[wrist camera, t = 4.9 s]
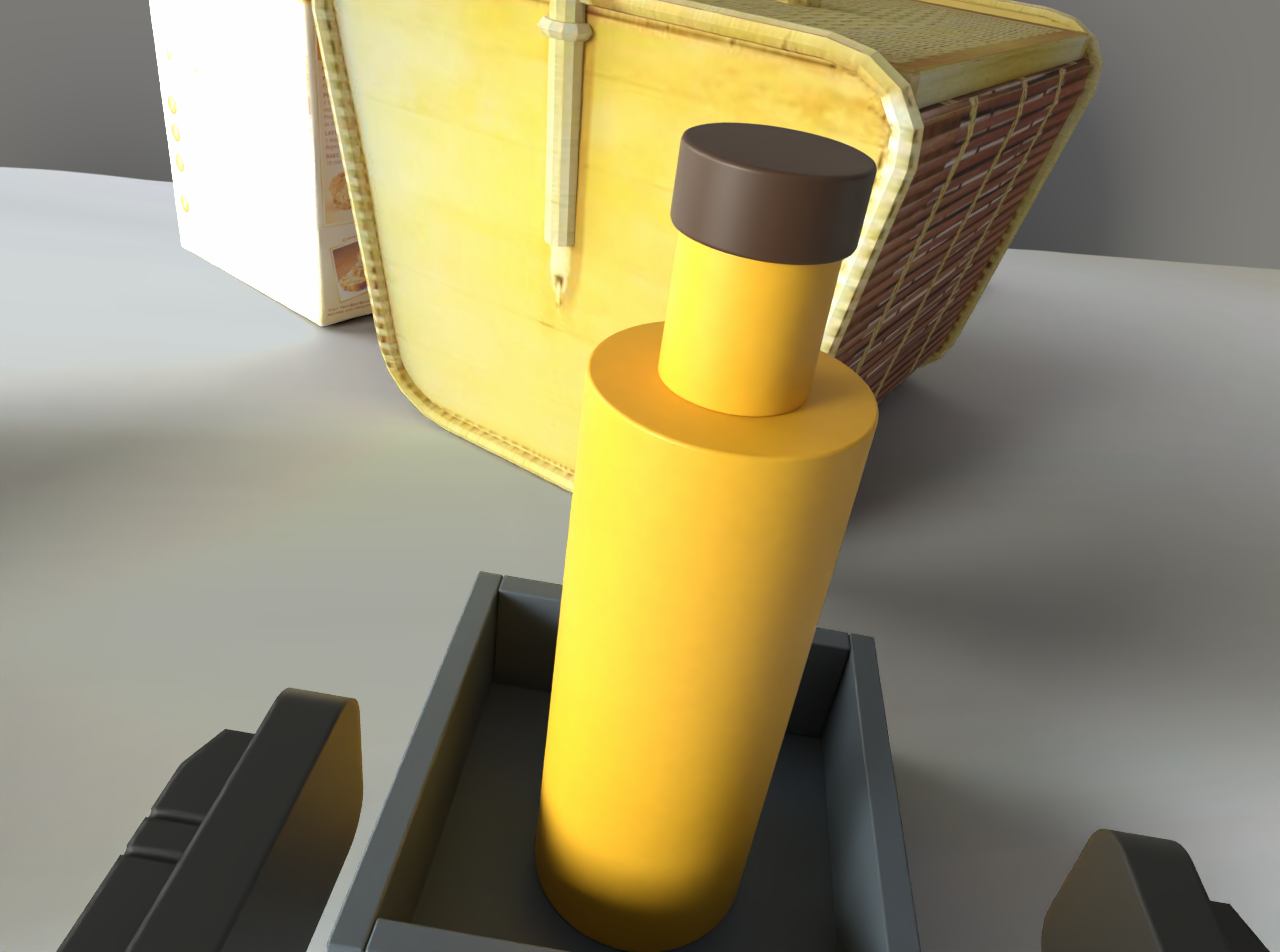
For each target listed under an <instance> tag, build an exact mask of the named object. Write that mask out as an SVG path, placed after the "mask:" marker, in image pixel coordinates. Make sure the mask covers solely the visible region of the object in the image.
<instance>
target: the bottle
mask: <svg viewBox="0 0 1280 952" xmlns="http://www.w3.org/2000/svg"><path fill="white" fill-rule="evenodd" d="M876 173H877V167H876V163H875V162H874V160H873V159H872V158H871V157H869V156H868V155H866V154H865V153H863V152H862V151H860V150H858V149H856V148H854V147H852V146H849V145H847V144H844V143H842V142H839V141H836V140H833V139H830V138H827V137H823V136H820V135H816V134H812V133H808V132H803V131H799V130H794V129H788V128H782V127H776V126H769V125H761V124H751V123H731V122H723V123H708V124H702V125H697V126H694V127H691V128H689V129H687V130H686V131H685V132H684V133H683V135H682V137H681V141H680V148H679V155H678V162H677V169H676V176H675V183H674V190H673V197H672V204H671V210H670V217H671V220H672V223H673V225H674V226H675V227H676V229H678V230H679V232H678V239H677V245H676V252H675V258H674V265H673V272H672V278H671V285H670V291H669V298H668V305H667V311H666V318H665V321H660V322H652V323H647V324H641V325H637V326H633V327H630V328H626V329H624V330H621V331H619V332H616V333H614V334H612V335H611V336H609V337H607V338H605V339H604V340H603V341H602V342H600V343H599V344H598V345H597V346H596V347H595V349H594V350H593V351H592V353H591V354H590V357H589V359H588V361H587V366H586V373H585V383H584V392H583V402H582V411H581V420H580V430H579V439H578V448H577V458H576V467H575V477H574V486H573V495H572V505H571V514H570V524H569V533H568V542H567V552H566V561H565V571H564V580H563V589H562V599H561V608H560V617H559V627H558V636H557V646H556V655H555V664H554V674H553V683H552V693H551V702H550V711H549V721H548V730H547V739H546V749H545V758H544V768H543V777H542V786H541V796H540V805H539V815H538V824H537V833H536V843H535V863H536V869H537V874H538V877H539V880H540V883H541V886H542V888H543V890H544V892H545V894H546V896H547V898H548V899H549V901H550V902H551V904H552V905H553V907H554V908H555V909H556V910H557V912H558V913H559V914H560V915H561V916H562V917H563V918H564V919H565V920H566V921H567V922H568V923H569V924H570V925H572V926H573V927H574V928H575V929H577V930H578V931H579V932H581V933H582V934H584V935H585V936H587V937H589V938H591V939H593V940H595V941H597V942H599V943H601V944H604V945H607V946H610V947H613V948H616V949H621V950H625V951H632V952H661V951H667V950H672V949H676V948H679V947H682V946H685V945H687V944H689V943H692V942H694V941H696V940H698V939H699V938H701V937H702V936H704V935H705V934H707V933H709V932H710V931H711V930H712V929H713V928H714V927H715V926H716V925H718V924H719V922H720V921H721V920H722V919H723V918H724V916H725V915H726V914H727V912H728V911H729V909H730V907H731V906H732V904H733V901H734V899H735V897H736V894H737V891H738V888H739V885H740V881H741V878H742V875H743V871H744V868H745V865H746V861H747V858H748V854H749V851H750V848H751V844H752V841H753V838H754V834H755V831H756V828H757V824H758V821H759V818H760V814H761V811H762V808H763V804H764V801H765V798H766V794H767V791H768V788H769V784H770V781H771V778H772V774H773V771H774V768H775V764H776V761H777V758H778V754H779V751H780V748H781V744H782V741H783V738H784V734H785V731H786V728H787V724H788V721H789V718H790V714H791V711H792V708H793V704H794V701H795V698H796V694H797V691H798V688H799V684H800V681H801V678H802V674H803V671H804V667H805V664H806V661H807V657H808V654H809V651H810V647H811V644H812V641H813V637H814V634H815V631H816V627H817V624H818V621H819V617H820V614H821V611H822V607H823V604H824V601H825V597H826V594H827V591H828V587H829V584H830V581H831V577H832V574H833V571H834V567H835V564H836V561H837V557H838V554H839V551H840V547H841V544H842V541H843V537H844V534H845V531H846V527H847V524H848V521H849V517H850V514H851V511H852V507H853V504H854V501H855V497H856V494H857V490H858V487H859V484H860V480H861V477H862V474H863V470H864V467H865V464H866V460H867V457H868V454H869V450H870V447H871V444H872V440H873V437H874V434H875V430H876V427H877V424H878V418H879V411H878V404H877V401H876V399H875V396H874V394H873V392H872V391H871V389H870V388H869V386H868V385H867V384H866V383H865V382H864V380H863V379H862V378H861V377H860V376H859V375H857V374H856V373H855V372H854V371H853V370H852V369H850V368H849V367H848V366H846V365H845V364H843V363H842V362H841V361H839V360H837V359H836V358H834V357H832V356H830V355H829V354H827V353H825V352H823V351H821V350H820V348H821V344H822V340H823V336H824V332H825V328H826V324H827V320H828V316H829V312H830V308H831V304H832V300H833V296H834V292H835V288H836V284H837V280H838V276H839V272H840V268H841V264H842V260H844V259H846V258H848V257H849V256H851V255H852V254H853V253H854V252H855V250H856V249H857V246H858V243H859V239H860V235H861V231H862V227H863V223H864V220H865V216H866V212H867V208H868V204H869V200H870V196H871V192H872V188H873V185H874V181H875V177H876Z"/></svg>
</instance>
